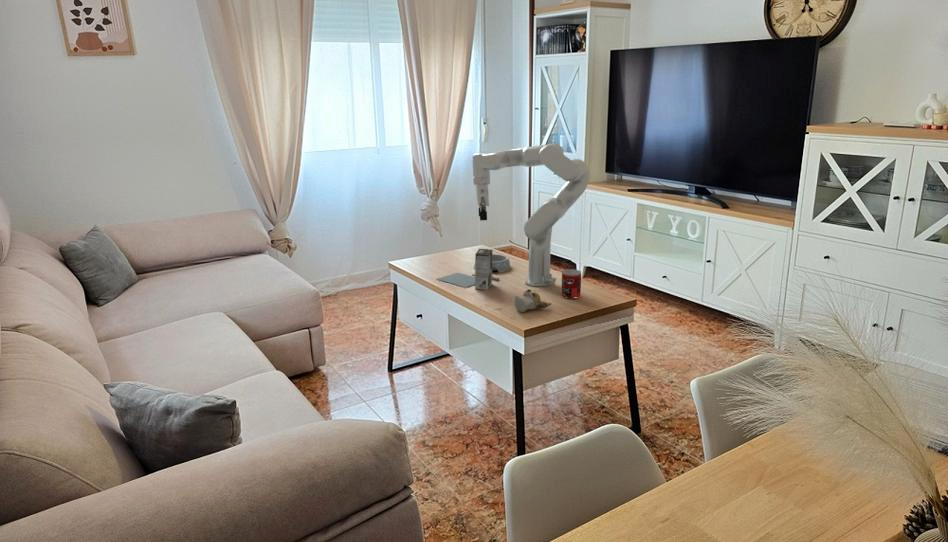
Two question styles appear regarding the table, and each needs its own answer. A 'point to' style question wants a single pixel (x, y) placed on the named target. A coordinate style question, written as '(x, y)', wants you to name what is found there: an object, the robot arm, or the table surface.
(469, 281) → the mat
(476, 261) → the coffee box
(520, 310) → the ceramic sculpture
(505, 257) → the dog bowl
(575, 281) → the canned food
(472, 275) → the turner
